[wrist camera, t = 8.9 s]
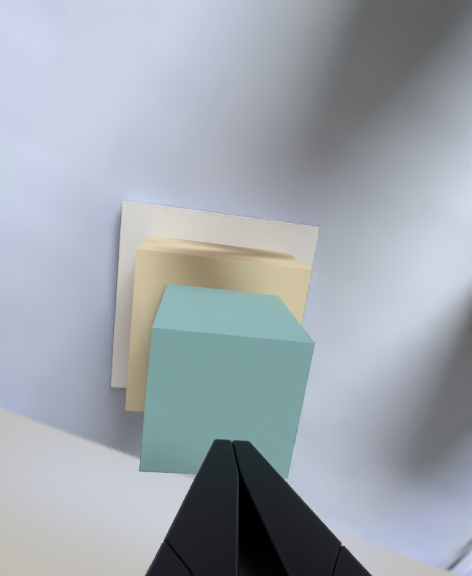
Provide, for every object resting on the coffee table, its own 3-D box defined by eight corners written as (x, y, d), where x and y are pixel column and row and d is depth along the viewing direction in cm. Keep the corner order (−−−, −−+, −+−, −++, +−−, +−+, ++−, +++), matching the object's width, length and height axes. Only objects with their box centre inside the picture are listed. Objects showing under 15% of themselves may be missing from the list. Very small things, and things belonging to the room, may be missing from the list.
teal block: (278, 295, 15) (314, 343, 10) (261, 393, 16) (287, 478, 12) (167, 283, 15) (152, 327, 10) (157, 386, 16) (138, 471, 11)
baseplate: (313, 225, 20) (319, 227, 19) (283, 390, 23) (287, 399, 22) (126, 200, 19) (122, 201, 18) (114, 378, 21) (110, 386, 20)
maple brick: (286, 252, 19) (312, 269, 15) (266, 374, 21) (283, 420, 17) (151, 235, 19) (136, 249, 14) (140, 363, 20) (124, 410, 16)
